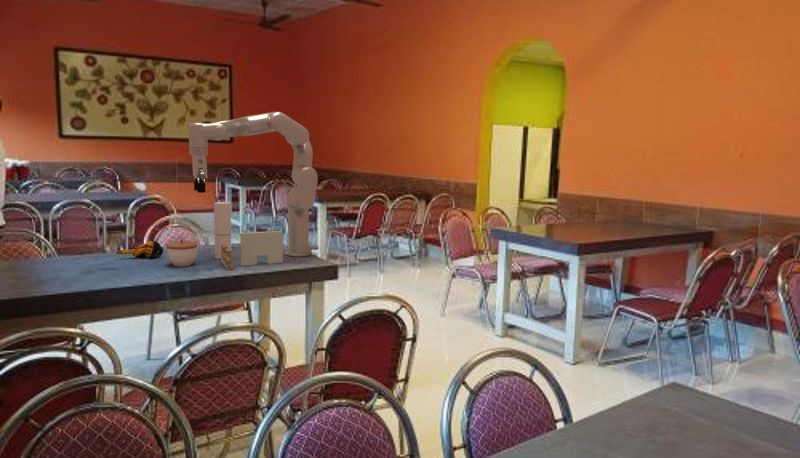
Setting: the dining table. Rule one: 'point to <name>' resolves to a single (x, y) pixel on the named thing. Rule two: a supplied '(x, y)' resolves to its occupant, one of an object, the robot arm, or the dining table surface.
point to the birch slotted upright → (227, 257)
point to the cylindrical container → (222, 226)
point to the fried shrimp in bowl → (145, 250)
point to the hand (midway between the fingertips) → (199, 191)
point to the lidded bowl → (181, 252)
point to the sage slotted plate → (261, 247)
